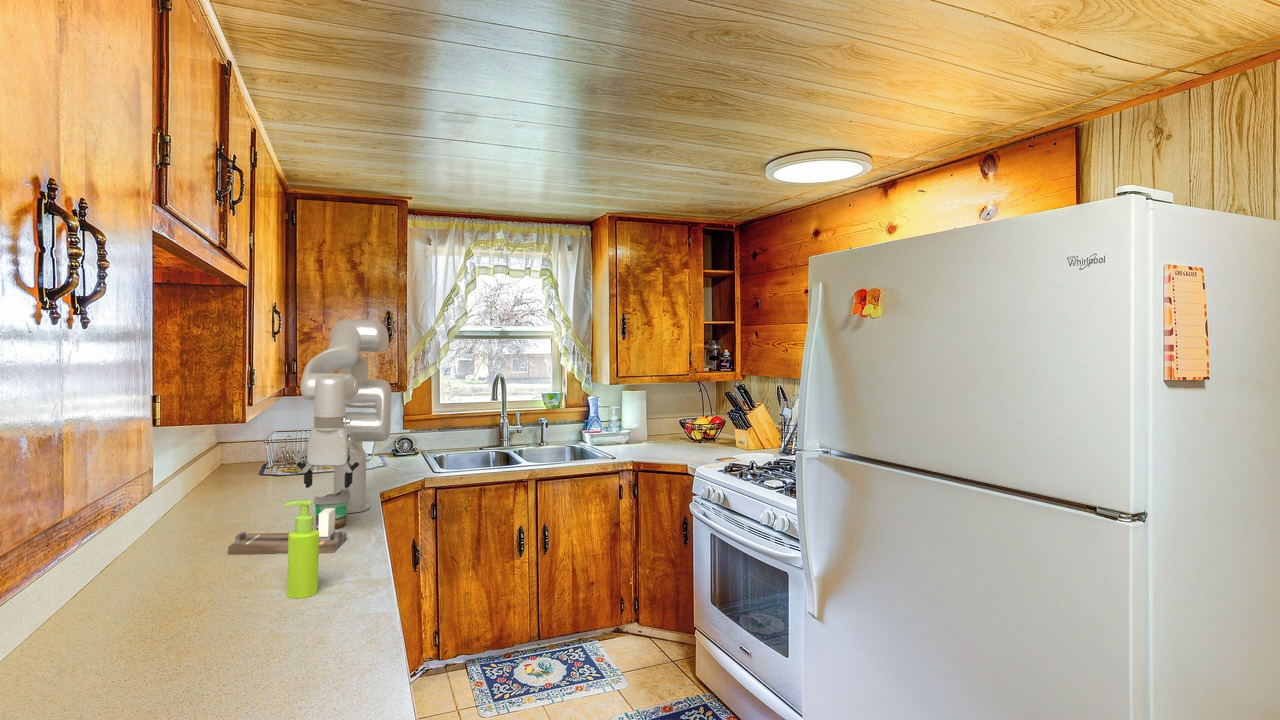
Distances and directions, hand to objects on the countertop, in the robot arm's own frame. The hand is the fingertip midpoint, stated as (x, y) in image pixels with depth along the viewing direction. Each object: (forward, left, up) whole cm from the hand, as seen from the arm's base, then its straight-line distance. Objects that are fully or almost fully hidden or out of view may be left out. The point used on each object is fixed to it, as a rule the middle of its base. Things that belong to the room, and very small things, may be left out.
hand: (328, 486), depth 177 cm
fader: (+1, 0, -13) cm, 14 cm away
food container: (-18, -2, -16) cm, 24 cm away
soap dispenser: (+36, +5, -16) cm, 39 cm away
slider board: (+1, -9, -16) cm, 18 cm away
